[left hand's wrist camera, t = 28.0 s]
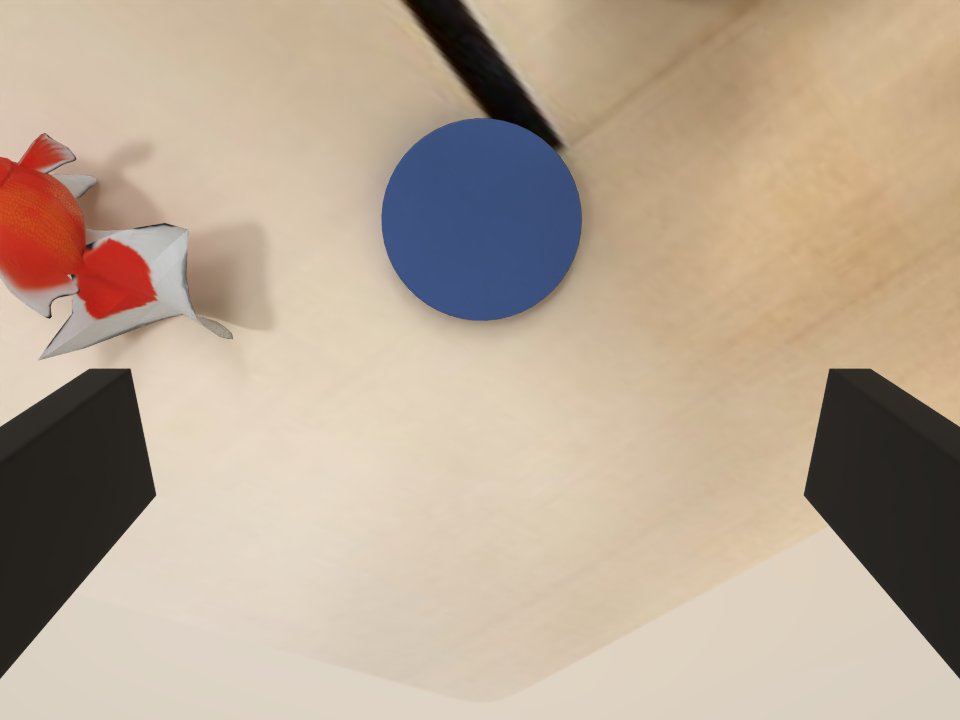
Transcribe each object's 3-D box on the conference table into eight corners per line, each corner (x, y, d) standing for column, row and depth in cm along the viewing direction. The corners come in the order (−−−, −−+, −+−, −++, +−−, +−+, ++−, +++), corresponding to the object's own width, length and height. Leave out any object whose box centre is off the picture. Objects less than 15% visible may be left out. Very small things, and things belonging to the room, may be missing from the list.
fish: (67, 29, 30) (-56, 160, 24) (299, 252, 41) (253, 382, 35) (-50, 126, 35) (-177, 255, 29) (184, 303, 45) (127, 426, 39)
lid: (423, 334, 41) (421, 343, 39) (357, 155, 37) (351, 157, 35) (597, 280, 39) (603, 288, 38) (547, 90, 36) (551, 88, 34)
